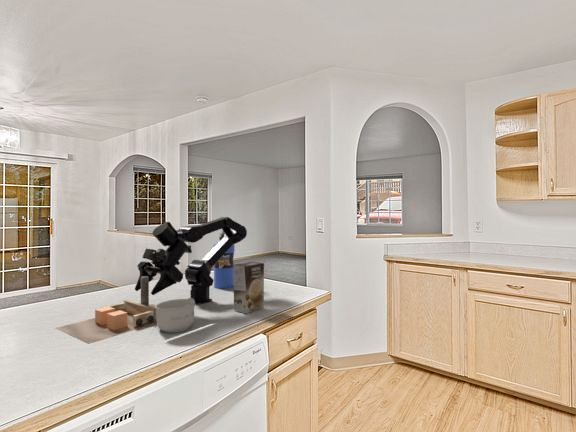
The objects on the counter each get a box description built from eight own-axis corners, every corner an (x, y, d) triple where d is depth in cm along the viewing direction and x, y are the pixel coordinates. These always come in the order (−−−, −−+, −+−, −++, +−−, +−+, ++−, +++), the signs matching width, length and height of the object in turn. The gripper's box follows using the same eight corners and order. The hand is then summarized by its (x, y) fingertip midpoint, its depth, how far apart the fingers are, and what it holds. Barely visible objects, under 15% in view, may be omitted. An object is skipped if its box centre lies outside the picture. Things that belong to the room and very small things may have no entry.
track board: (151, 305, 124) (151, 303, 124) (187, 315, 113) (187, 313, 113) (55, 330, 99) (55, 328, 99) (88, 346, 88) (88, 343, 88)
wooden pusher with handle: (133, 308, 117) (132, 273, 117) (164, 318, 107) (164, 279, 107) (104, 315, 110) (104, 278, 109) (135, 326, 99) (135, 285, 99)
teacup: (172, 339, 92) (172, 310, 92) (147, 332, 98) (146, 304, 97) (210, 324, 104) (209, 298, 104) (185, 318, 109) (185, 294, 109)
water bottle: (214, 284, 159) (214, 230, 159) (235, 284, 160) (234, 230, 160) (212, 289, 150) (212, 232, 150) (234, 288, 151) (233, 232, 151)
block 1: (108, 319, 107) (108, 306, 107) (115, 321, 105) (115, 308, 105) (95, 322, 104) (95, 309, 104) (101, 325, 102) (101, 311, 102)
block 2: (120, 323, 103) (120, 310, 103) (127, 326, 101) (127, 312, 101) (106, 327, 100) (106, 313, 100) (114, 329, 98) (113, 316, 97)
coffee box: (247, 314, 114) (246, 266, 114) (233, 310, 118) (233, 264, 118) (264, 307, 122) (264, 262, 121) (250, 304, 125) (250, 261, 125)
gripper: (142, 238, 120) (111, 274, 112) (175, 241, 110) (143, 281, 101) (162, 258, 127) (133, 293, 118) (195, 262, 116) (167, 302, 107)
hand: (143, 292), depth 111 cm, fingers open, 9 cm apart
